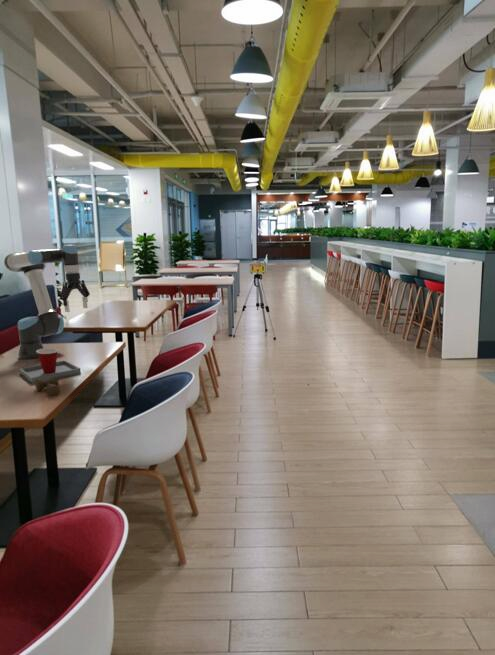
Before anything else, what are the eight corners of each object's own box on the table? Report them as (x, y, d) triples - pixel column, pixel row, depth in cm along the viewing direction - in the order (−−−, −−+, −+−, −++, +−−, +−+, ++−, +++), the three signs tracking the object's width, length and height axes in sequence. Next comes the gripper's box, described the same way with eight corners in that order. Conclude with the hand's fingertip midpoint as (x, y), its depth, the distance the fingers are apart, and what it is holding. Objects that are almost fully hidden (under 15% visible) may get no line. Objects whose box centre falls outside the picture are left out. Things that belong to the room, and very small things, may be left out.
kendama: (43, 399, 221) (33, 388, 238) (65, 395, 227) (54, 384, 243) (42, 386, 220) (32, 375, 236) (64, 382, 226) (53, 372, 242)
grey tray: (20, 374, 263) (19, 368, 263) (66, 365, 277) (65, 360, 277) (32, 383, 244) (31, 378, 244) (80, 373, 258) (80, 368, 258)
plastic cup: (53, 375, 254) (50, 352, 252) (34, 374, 257) (31, 352, 254) (65, 369, 265) (62, 347, 263) (46, 369, 267) (44, 347, 265)
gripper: (84, 270, 294) (88, 306, 298) (49, 274, 273) (54, 313, 277) (93, 270, 291) (97, 306, 295) (59, 274, 269) (64, 313, 273)
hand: (76, 309), depth 286 cm, fingers open, 13 cm apart
